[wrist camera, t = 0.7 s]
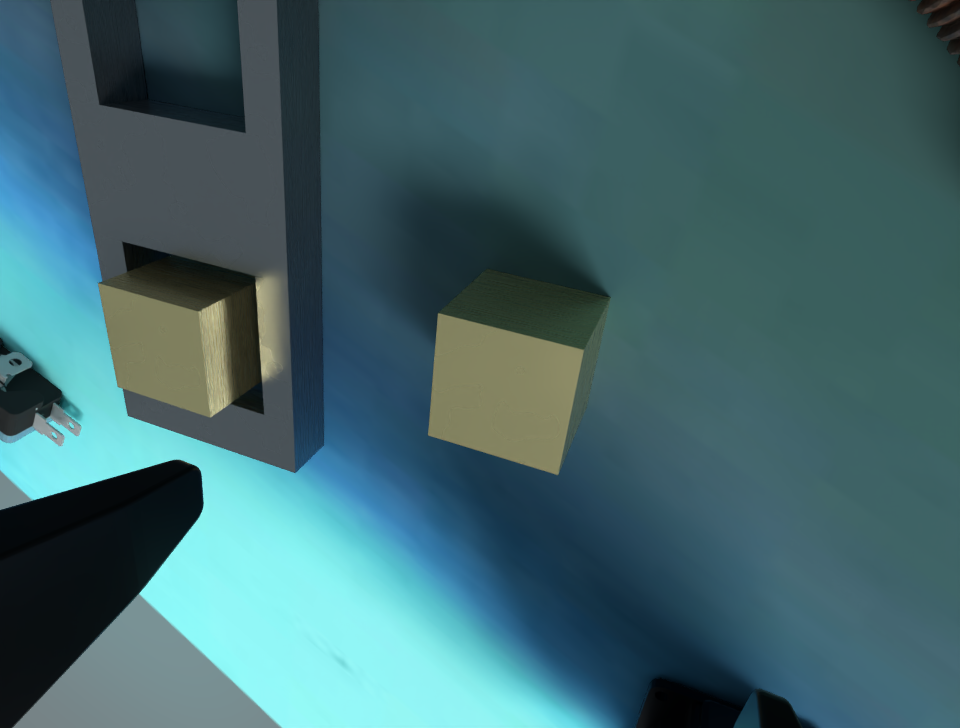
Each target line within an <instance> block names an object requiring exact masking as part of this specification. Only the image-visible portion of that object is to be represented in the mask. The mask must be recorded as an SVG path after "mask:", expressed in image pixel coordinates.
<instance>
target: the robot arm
mask: <svg viewBox="0 0 960 728" xmlns="http://www.w3.org/2000/svg"><path fill="white" fill-rule="evenodd" d="M203 504H204V502H203V489H202V476H201V471H200V470H199V468H198V467H197V466H194V465H192V464H189V463H187V462H184V461H182V460H172V461H168V462H165V463H161V464H158V465H154V466H151V467H147V468H144V469H140V470H137V471H133V472H130V473H127V474H123V475H120V476H116V477H113V478H109V479H106V480H102V481H99V482H95V483H92V484H89V485H85V486H82V487H78V488H75V489H71V490H68V491H64V492H61V493H57V494H54V495H50V496H47V497H44V498H40V499H37V500H33V501H30V502H27V503H23V504H19V505H16V506H12V507H9V508H6V509H2V510H0V728H12V727H14V726H15V725H16V724H17V723H18V721H19V720H20V719H21V718H22V717H23V716H24V715H25V714H26V713H27V712H28V711H29V710H30V709H31V708H32V707H33V706H34V704H35V703H36V702H37V701H38V700H39V699H40V698H41V697H42V696H43V695H44V694H45V693H46V692H47V691H48V690H49V689H50V687H52V685H53V684H54V683H55V682H56V681H57V680H58V679H59V678H60V677H61V676H62V675H63V674H64V673H65V672H66V670H68V669H69V668H70V666H71V665H72V664H73V663H74V662H75V661H76V660H77V659H78V658H79V657H80V656H81V655H82V654H83V653H84V651H86V649H87V648H88V647H89V646H90V645H91V644H92V643H93V642H94V641H95V640H96V639H97V638H98V637H99V636H100V635H101V634H102V633H103V632H104V631H105V629H106V628H107V627H108V626H109V625H110V624H111V623H112V622H113V621H114V620H115V619H116V618H117V617H118V616H119V615H120V613H122V611H123V610H124V609H125V608H126V607H127V606H128V605H129V604H130V603H131V602H132V601H133V600H134V599H135V597H136V596H137V595H138V594H139V593H140V592H141V591H142V589H143V588H144V587H145V586H146V585H147V583H148V582H149V581H150V580H151V579H152V577H153V576H154V575H155V573H156V572H157V571H158V570H159V568H160V567H161V566H162V564H163V563H164V562H165V561H166V559H167V558H168V557H169V555H170V554H171V553H172V552H173V550H174V549H175V548H176V547H177V545H178V544H179V543H180V541H181V540H182V539H183V538H184V536H185V535H186V534H187V532H188V531H189V530H190V529H191V527H192V526H193V525H194V523H195V522H196V521H197V520H198V518H199V516H200V514H201V512H202V510H203ZM634 728H802V726H801V724H800V722H799V720H798V718H797V716H796V714H795V712H794V710H793V708H792V706H791V704H790V703H789V702H788V701H787V700H786V699H785V698H783V697H780V696H778V695H775V694H773V693H770V692H767V691H765V690H762V689H755V690H754V691H753V692H752V693H751V695H750V697H749V699H748V700H747V702H746V704H745V706H744V708H741V707H738V706H736V705H733V704H730V703H728V702H725V701H722V700H720V699H717V698H714V697H711V696H709V695H706V694H703V693H701V692H698V691H695V690H693V689H690V688H687V687H685V686H682V685H679V684H677V683H674V682H671V681H668V680H666V679H661V678H657V679H654V680H652V681H651V682H650V685H649V687H648V690H647V693H646V696H645V698H644V701H643V704H642V707H641V709H640V712H639V715H638V717H637V720H636V723H635V726H634Z"/></svg>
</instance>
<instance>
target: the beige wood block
mask: <svg viewBox="0 0 960 728" xmlns="http://www.w3.org/2000/svg"><path fill="white" fill-rule="evenodd" d="M610 298H611V297H607V296H603V295H599V294H594V293H590V292H585V291H581V290H577V289H572V288H568V287H564V286H559V285H555V284H551V283H546V282H542V281H538V280H533V279H529V278H525V277H520V276H516V275H511V274H507V273H503V272H498V271H494V270H490V269H486V270H485V271H484V272H483V273H482V274H480V275H479V276H478V277H477V278H476V279H475V280H474V281H473V282H472V283H471V284H469V285H468V286H467V287H466V288H465V289H464V290H463V291H462V292H461V293H460V294H459V295H457V296H456V297H455V298H454V299H453V300H452V301H451V302H450V303H449V304H448V305H446V306H445V307H444V308H443V309H442V310H441V311H440V312H439V313H438V320H437V333H436V345H435V357H434V370H433V382H432V394H431V407H430V419H429V431H428V435H429V436H432V437H435V438H438V439H442V440H445V441H448V442H452V443H455V444H458V445H461V446H465V447H468V448H471V449H474V450H478V451H481V452H484V453H488V454H491V455H494V456H497V457H501V458H504V459H507V460H510V461H514V462H517V463H520V464H524V465H527V466H530V467H533V468H537V469H540V470H543V471H546V472H550V473H553V474H556V475H558V474H559V472H560V469H561V467H562V465H563V462H564V460H565V458H566V455H567V453H568V450H569V448H570V446H571V443H572V441H573V439H574V436H575V434H576V431H577V429H578V427H579V424H580V422H581V420H582V417H583V415H584V412H585V410H586V407H587V403H588V398H589V394H590V389H591V385H592V380H593V375H594V371H595V366H596V362H597V357H598V353H599V348H600V344H601V339H602V334H603V330H604V325H605V321H606V316H607V312H608V307H609V302H610Z"/></svg>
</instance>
